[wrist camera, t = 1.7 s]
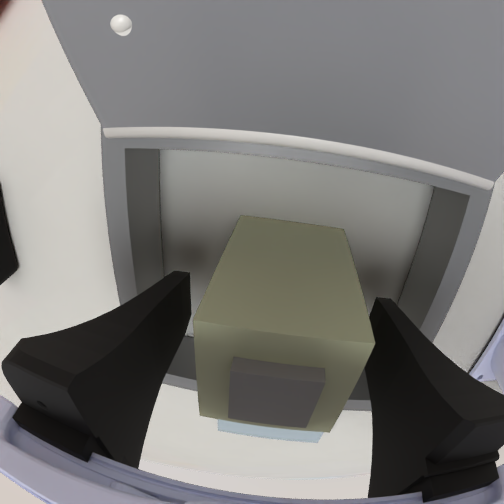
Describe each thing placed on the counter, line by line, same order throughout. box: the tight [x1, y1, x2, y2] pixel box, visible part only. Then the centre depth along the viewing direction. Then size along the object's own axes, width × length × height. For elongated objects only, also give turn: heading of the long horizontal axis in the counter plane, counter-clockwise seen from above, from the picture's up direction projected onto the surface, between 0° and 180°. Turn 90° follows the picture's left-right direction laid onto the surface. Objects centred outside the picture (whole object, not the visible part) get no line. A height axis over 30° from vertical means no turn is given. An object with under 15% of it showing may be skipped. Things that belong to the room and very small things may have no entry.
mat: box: [218, 419, 323, 443], centre depth 19 cm, size 8×8×1 cm
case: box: [42, 0, 504, 411], centre depth 10 cm, size 14×18×8 cm
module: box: [193, 215, 375, 432], centre depth 11 cm, size 4×4×8 cm
